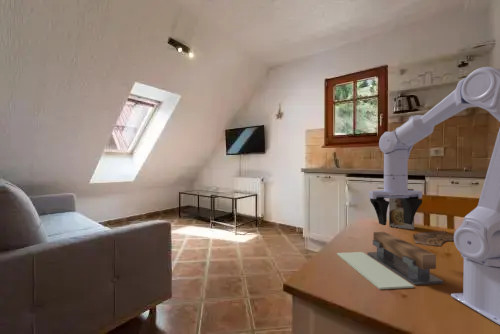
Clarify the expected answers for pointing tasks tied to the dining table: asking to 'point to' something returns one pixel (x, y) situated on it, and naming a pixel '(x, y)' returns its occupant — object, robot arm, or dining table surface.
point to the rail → (406, 250)
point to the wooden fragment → (432, 238)
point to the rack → (403, 266)
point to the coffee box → (398, 213)
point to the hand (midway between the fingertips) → (395, 224)
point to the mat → (374, 271)
